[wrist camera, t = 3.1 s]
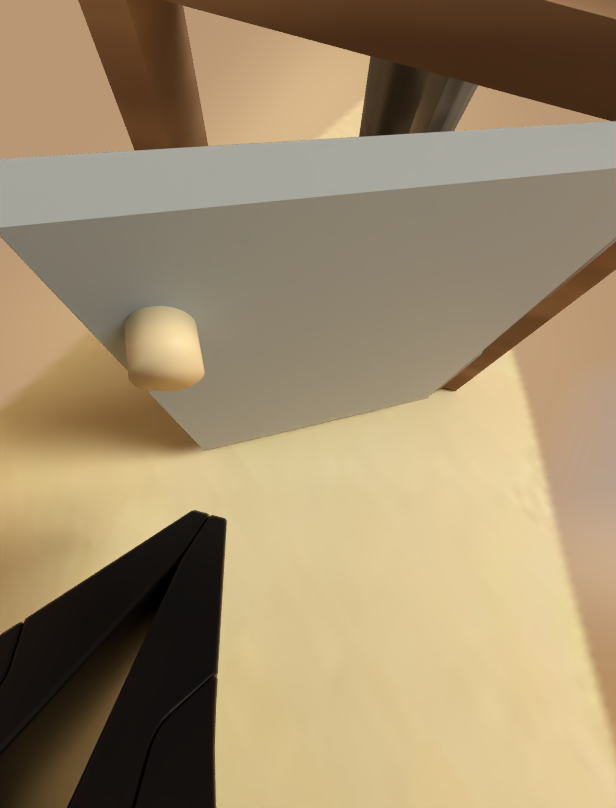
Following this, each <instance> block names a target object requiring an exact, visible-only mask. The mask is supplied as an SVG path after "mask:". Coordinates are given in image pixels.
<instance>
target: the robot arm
mask: <svg viewBox="0 0 616 808" xmlns="http://www.w3.org/2000/svg"><path fill="white" fill-rule="evenodd" d="M226 525H227V521H226V519H225V518H222V517H218V516H214V515H211V516H209V514H207V513H203V512H200V511H196V510H193V511H191V512H189V513H188V514H186V515H185V516H183V517H181V518H180V519H178V520H177V521H175V522H174V523H172V524H171V525H169V526H168V527H166V528H165V529H163V530H161V531H160V532H158V533H157V534H155V535H154V536H152V537H151V538H149V539H148V540H146V541H144V542H143V543H141V544H140V545H138V546H137V547H135V548H134V549H132V550H131V551H129V552H128V553H126V554H124V555H123V556H121V557H120V558H118V559H117V560H115V561H114V562H112V563H111V564H109V565H107V566H106V567H104V568H103V569H101V570H100V571H98V572H97V573H95V574H94V575H92V576H91V577H89V578H87V579H86V580H84V581H83V582H81V583H80V584H78V585H77V586H75V587H74V588H72V589H70V590H69V591H67V592H66V593H64V594H63V595H61V596H60V597H58V598H57V599H55V600H54V601H52V602H50V603H49V604H47V605H46V606H44V607H43V608H41V609H40V610H38V611H37V612H35V613H34V614H32V615H30V616H29V617H27V618H26V619H25V621H24V623H23V622H20V623H18V624H16V625H15V626H13V627H12V628H10V629H9V630H7V631H5V632H4V633H2V634H1V635H0V808H216V786H215V722H216V698H217V681H218V679H217V674H218V660H219V643H220V626H221V609H222V593H223V576H224V559H225V542H226Z"/></svg>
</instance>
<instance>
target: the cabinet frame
mask: <svg viewBox="0 0 616 808" xmlns="http://www.w3.org/2000/svg"><path fill="white" fill-rule="evenodd" d="M78 1H79V3H80V6H81V9H82V11H83V14H84V16H85V19H86V22H87V25H88V27H89V30H90V33H91V35H92V38H93V41H94V43H95V46H96V49H97V51H98V54H99V56H100V59H101V62H102V65H103V67H104V70H105V73H106V75H107V78H108V81H109V83H110V86H111V89H112V91H113V94H114V97H115V99H116V102H117V104H118V107H119V110H120V112H121V115H122V118H123V120H124V123H125V126H126V129H127V131H128V134H129V136H130V139H131V142H132V144H133V147H134V150H135V151H137V150H154V149H170V148H186V147H203V146H208V143H207V137H206V131H205V126H204V120H203V115H202V109H201V104H200V98H199V92H198V87H197V81H196V76H195V70H194V65H193V59H192V53H191V48H190V42H189V37H188V31H187V25H186V20H185V14H184V9H183V6H187V7H190V8H194V9H198V10H202V11H205V12H209V13H213V14H216V15H220V16H224V17H228V18H231V19H235V20H239V21H243V22H246V23H250V24H253V25H257V26H261V27H265V28H268V29H272V30H276V31H279V32H283V33H287V34H291V35H294V36H298V37H302V38H306V39H309V40H313V41H317V42H320V43H324V44H328V45H331V46H335V47H339V48H343V49H347V50H350V51H354V52H357V53H361V54H365V55H369V56H372V57H376V58H380V59H383V60H387V61H391V62H394V63H398V64H402V65H406V66H409V67H413V68H417V69H420V70H424V71H428V72H431V73H435V74H439V75H443V76H446V77H450V78H454V79H457V80H461V81H465V82H469V83H472V84H476V85H480V86H483V87H487V88H491V89H495V90H498V91H502V92H506V93H510V94H513V95H517V96H520V97H525V98H528V99H532V100H535V101H539V102H543V103H546V104H550V105H554V106H558V107H561V108H565V109H569V110H572V111H576V112H580V113H584V114H588V115H591V116H595V117H599V118H602V119H606V120H610V121H616V0H78ZM614 270H616V242H614V243H613V244H612V245H611V246H610V247H608V248H607V249H606V250H605V251H604V252H602V253H601V254H600V255H599V256H598V257H597V258H595V259H594V260H593V261H592V262H591V263H589V264H588V265H587V266H586V267H585V268H583V269H582V270H581V271H580V272H579V273H577V274H576V275H575V276H574V277H573V278H572V279H570V280H569V281H568V282H567V283H566V284H564V285H563V286H562V287H561V288H560V289H558V290H557V291H556V292H555V293H554V294H553V295H551V296H550V297H549V298H546V299H543V300H541V301H540V302H539V303H538V304H537V305H536V306H534V307H533V308H532V309H531V310H530V311H529V312H527V313H526V314H525V315H524V316H523V317H522V318H520V319H519V320H518V321H517V322H516V323H514V324H513V325H512V326H511V327H510V328H509V329H507V330H506V331H505V332H504V333H503V334H502V335H500V336H499V337H498V338H497V339H496V340H495V341H493V342H492V343H491V344H490V345H489V346H488V347H486V348H485V349H484V350H483V351H482V354H481V355H480V356H479V357H478V358H476V359H475V360H474V361H473V362H472V363H470V364H469V365H468V366H467V367H466V368H464V369H463V370H462V371H461V372H460V373H459V374H457V375H456V376H455V377H454V378H453V379H451V380H450V381H449V382H448V383H447V384H445V385H444V386H443V387H442V388H446V389H449V390H453V391H456V390H457V389H459V388H460V387H461V386H463V385H464V384H465V383H467V382H468V381H469V380H471V379H472V378H473V377H474V376H476V375H477V374H478V373H480V372H481V371H482V370H484V369H485V368H486V367H488V366H489V365H490V364H492V363H493V362H494V361H496V360H497V359H498V358H500V357H501V356H502V355H504V354H505V353H506V352H507V351H509V350H510V349H511V348H513V347H514V346H515V345H517V344H518V343H519V342H520V341H522V340H523V339H525V338H526V337H527V336H528V335H530V334H531V333H533V332H534V331H535V330H537V329H538V328H539V327H540V326H542V325H543V324H544V323H546V322H547V321H548V320H550V319H551V318H552V317H554V316H555V315H556V314H558V313H559V312H560V311H562V310H563V309H564V308H565V307H567V306H568V305H570V304H571V303H572V302H573V301H575V300H576V299H577V298H579V297H580V296H581V295H583V294H584V293H585V292H587V291H588V290H589V289H590V288H592V287H593V286H595V285H596V284H597V283H599V282H600V281H601V280H602V279H604V278H605V277H606V276H608V275H609V274H610V273H612V272H613V271H614Z"/></svg>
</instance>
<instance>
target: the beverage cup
mask: <svg viewBox="0 0 616 808" xmlns="http://www.w3.org/2000/svg"><path fill="white" fill-rule="evenodd" d="M477 86H478V85H476V84H472V83H469V82H465V81H461V80H457V79H454V78H450V77H446V76H443V75H439V74H435V73H431V72H428V71H424V70H420V69H417V68H413V67H409V66H406V65H402V64H398V63H394V62H391V61H387V60H383V59H380V58H376V57H372V56H371V57H370V64H369V71H368V78H367V85H366V92H365V99H364V106H363V113H362V120H361V128H360V135H359V137H366V136H382V135H398V134H415V133H431V132H447V131H454V130H455V128H456V126H457V124H458V122H459V120H460V119H461V117H462V115H463V113H464V111H465V109H466V107H467V105H468V103H469V102H470V100H471V98H472V96H473V94H474V92H475V90H476V88H477Z"/></svg>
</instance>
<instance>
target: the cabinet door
mask: <svg viewBox="0 0 616 808" xmlns="http://www.w3.org/2000/svg"><path fill="white" fill-rule="evenodd" d="M0 237H1V238H2V239H3V240H4V241H5V242H6V243H7V244H8V245H9V246H10V247H11V248H12V249H13V250H14V251H15V252H16V253H17V255H18V256H19V257H20V258H21V259H22V260H23V261H24V262H25V263H26V264H27V265H28V266H29V267H30V268H31V269H32V270H33V271H34V272H35V273H36V275H37V276H38V277H39V278H40V279H41V280H42V281H43V282H44V283H45V284H46V285H47V286H48V287H49V288H50V289H51V290H52V291H53V292H54V294H55V295H56V296H57V297H58V298H59V299H60V300H61V301H62V302H63V303H64V304H65V305H66V306H67V307H68V308H69V309H70V310H71V311H72V312H73V313H74V314H75V316H76V317H77V318H78V319H79V320H80V321H81V322H82V323H83V324H84V325H85V326H86V327H87V328H88V329H89V330H90V331H91V332H92V334H93V335H94V336H95V337H96V338H97V339H98V340H99V341H100V342H101V343H102V344H103V345H104V346H105V347H106V348H107V349H108V350H109V351H110V352H111V353H112V355H113V356H114V357H115V358H116V359H117V360H118V361H119V362H120V363H121V364H122V365H123V366H124V367H125V368H126V369H127V370H128V377H129V380H130V381H131V383H133V384H134V385H135V386H137V387H139V388H142V389H146V390H147V391H148V392H149V393H150V395H151V396H152V397H153V398H154V399H155V400H156V401H157V402H158V403H159V404H160V405H161V406H162V407H163V408H164V409H165V410H166V411H167V412H168V413H169V415H170V416H171V417H172V418H173V419H174V420H175V421H176V422H177V423H178V424H179V425H180V426H181V427H182V428H183V429H184V430H185V431H186V432H187V433H188V434H189V436H190V437H191V438H192V439H193V440H194V441H195V442H196V443H197V444H198V445H199V446H200V447H201V448H202V449H203V450H204V451H205V450H209V449H213V448H218V447H222V446H226V445H230V444H235V443H239V442H243V441H247V440H252V439H256V438H260V437H264V436H268V435H273V434H277V433H281V432H285V431H290V430H294V429H298V428H302V427H307V426H311V425H315V424H319V423H324V422H328V421H332V420H336V419H341V418H345V417H349V416H353V415H358V414H362V413H366V412H370V411H375V410H379V409H383V408H387V407H392V406H396V405H400V404H404V403H409V402H413V401H417V400H421V399H425V398H428V397H429V396H430V395H431V394H432V393H434V392H435V391H436V390H437V389H440V388H442V387H443V386H444V385H445V384H447V383H448V382H449V381H450V380H451V379H453V378H454V377H455V376H456V375H457V374H459V373H460V372H461V371H462V370H463V369H464V368H466V367H467V366H468V365H469V364H470V363H472V362H473V361H474V360H475V359H476V358H478V357H479V356H480V355H481V354H482V351H483V350H484V349H485V348H486V347H488V346H489V345H490V344H491V343H492V342H493V341H495V340H496V339H497V338H498V337H499V336H500V335H502V334H503V333H504V332H505V331H506V330H507V329H509V328H510V327H511V326H512V325H513V324H514V323H516V322H517V321H518V320H519V319H520V318H522V317H523V316H524V315H525V314H526V313H527V312H529V311H530V310H531V309H532V308H533V307H534V306H536V305H537V304H538V303H539V302H540V301H541V300H543V299H546V298H549V297H550V296H551V295H553V294H554V293H555V292H556V291H557V290H558V289H560V288H561V287H562V286H563V285H564V284H566V283H567V282H568V281H569V280H570V279H572V278H573V277H574V276H575V275H576V274H577V273H579V272H580V271H581V270H582V269H583V268H585V267H586V266H587V265H588V264H589V263H591V262H592V261H593V260H594V259H595V258H597V257H598V256H599V255H600V254H601V253H602V252H604V251H605V250H606V249H607V248H608V247H610V246H611V245H612V244H613V243H614V242H616V121H611V122H594V123H579V124H562V125H546V126H529V127H514V128H496V129H480V130H464V131H447V132H431V133H415V134H398V135H382V136H366V137H349V138H333V139H317V140H300V141H284V142H268V143H252V144H236V145H219V146H203V147H186V148H170V149H154V150H137V151H121V152H105V153H88V154H72V155H58V156H57V155H56V156H39V157H23V158H7V159H0Z"/></svg>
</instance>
